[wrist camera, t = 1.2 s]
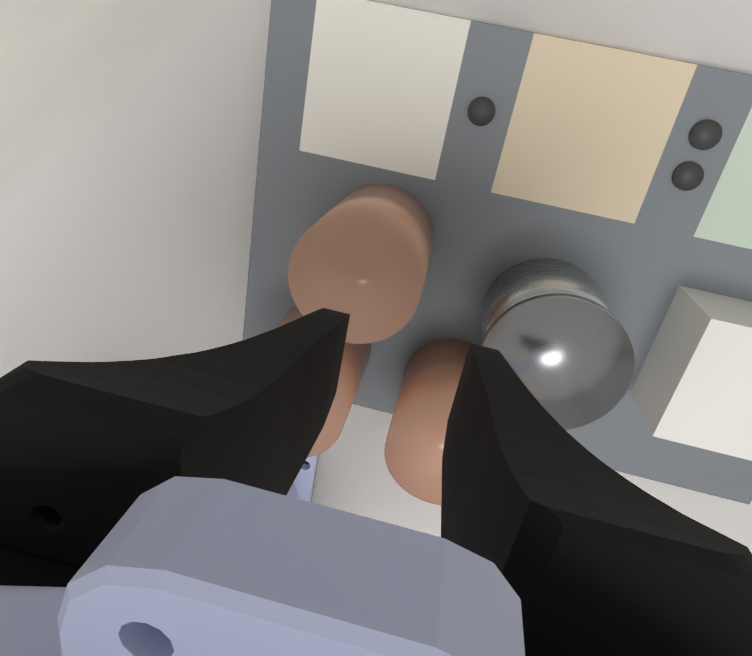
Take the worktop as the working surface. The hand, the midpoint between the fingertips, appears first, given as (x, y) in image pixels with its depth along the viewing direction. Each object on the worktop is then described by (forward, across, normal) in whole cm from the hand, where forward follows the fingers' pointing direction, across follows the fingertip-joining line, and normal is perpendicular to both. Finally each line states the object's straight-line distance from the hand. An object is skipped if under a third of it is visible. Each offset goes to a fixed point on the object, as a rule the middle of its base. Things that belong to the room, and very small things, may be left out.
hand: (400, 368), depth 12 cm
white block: (+9, -11, +2) cm, 14 cm away
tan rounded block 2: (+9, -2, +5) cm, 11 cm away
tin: (+9, -4, +2) cm, 10 cm away
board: (+10, -4, 0) cm, 11 cm away
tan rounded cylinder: (+9, +2, 0) cm, 10 cm away
